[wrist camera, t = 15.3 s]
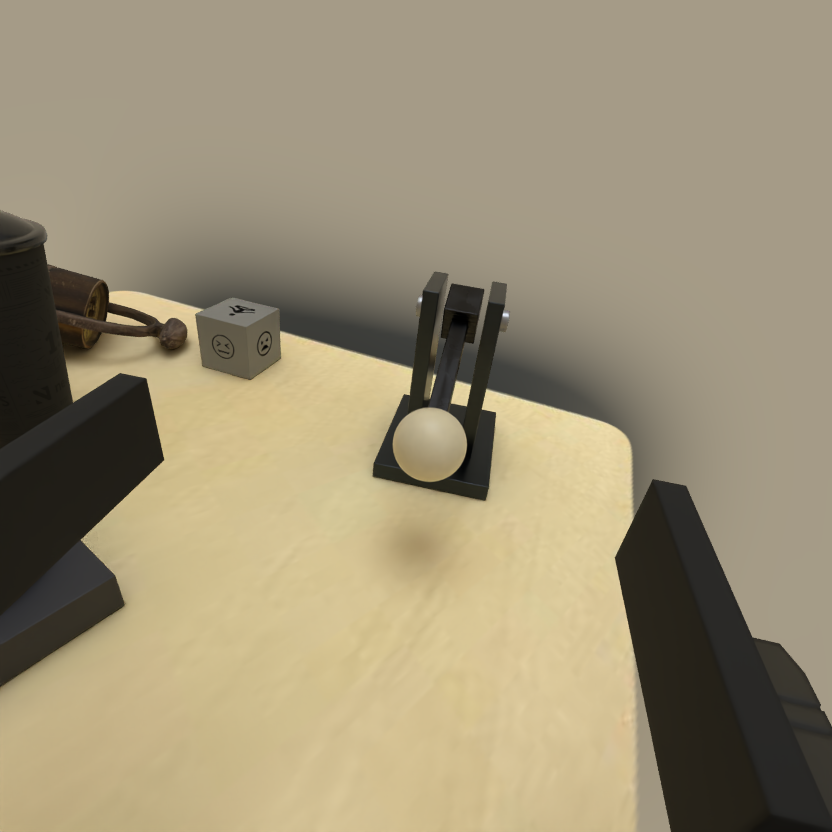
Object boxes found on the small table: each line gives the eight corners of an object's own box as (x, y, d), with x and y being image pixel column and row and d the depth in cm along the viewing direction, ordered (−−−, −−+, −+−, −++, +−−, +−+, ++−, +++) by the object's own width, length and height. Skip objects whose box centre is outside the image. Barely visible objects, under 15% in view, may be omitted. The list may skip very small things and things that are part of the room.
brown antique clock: (73, 261, 48) (-29, 263, 38) (195, 268, 46) (121, 273, 37) (85, 334, 50) (-7, 353, 41) (202, 344, 49) (134, 366, 39)
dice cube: (280, 358, 47) (278, 309, 44) (250, 379, 43) (246, 327, 40) (236, 346, 48) (232, 297, 46) (202, 366, 44) (195, 313, 41)
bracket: (485, 500, 33) (530, 325, 26) (372, 476, 34) (387, 300, 27) (493, 424, 42) (529, 276, 35) (402, 405, 42) (420, 257, 36)
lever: (455, 502, 25) (465, 460, 22) (384, 486, 25) (384, 444, 22) (488, 327, 34) (498, 281, 31) (435, 318, 34) (440, 271, 31)
